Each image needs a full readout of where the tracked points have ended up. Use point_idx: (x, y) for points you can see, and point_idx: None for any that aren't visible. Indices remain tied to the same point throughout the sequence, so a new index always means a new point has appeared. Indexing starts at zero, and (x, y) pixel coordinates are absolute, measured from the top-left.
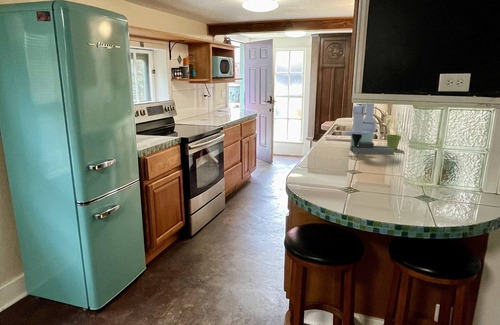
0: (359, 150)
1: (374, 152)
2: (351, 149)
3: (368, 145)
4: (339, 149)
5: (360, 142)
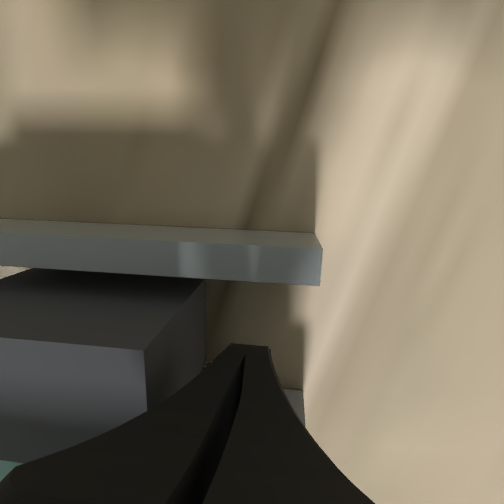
0: (223, 235)
1: (13, 220)
2: (290, 397)
3: (15, 312)
4: (442, 451)
5: (137, 408)
